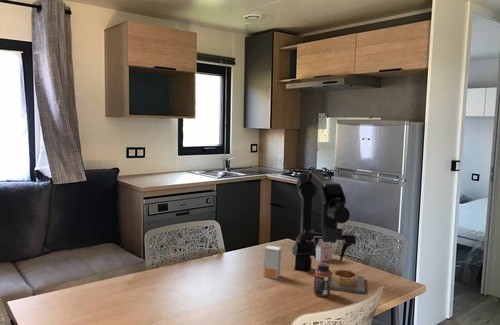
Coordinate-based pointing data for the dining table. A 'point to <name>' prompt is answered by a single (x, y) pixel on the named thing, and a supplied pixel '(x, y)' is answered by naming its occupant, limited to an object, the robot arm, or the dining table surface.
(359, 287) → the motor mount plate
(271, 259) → the skincare box
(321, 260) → the white printed carton
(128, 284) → the dining table surface
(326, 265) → the supplement bottle
